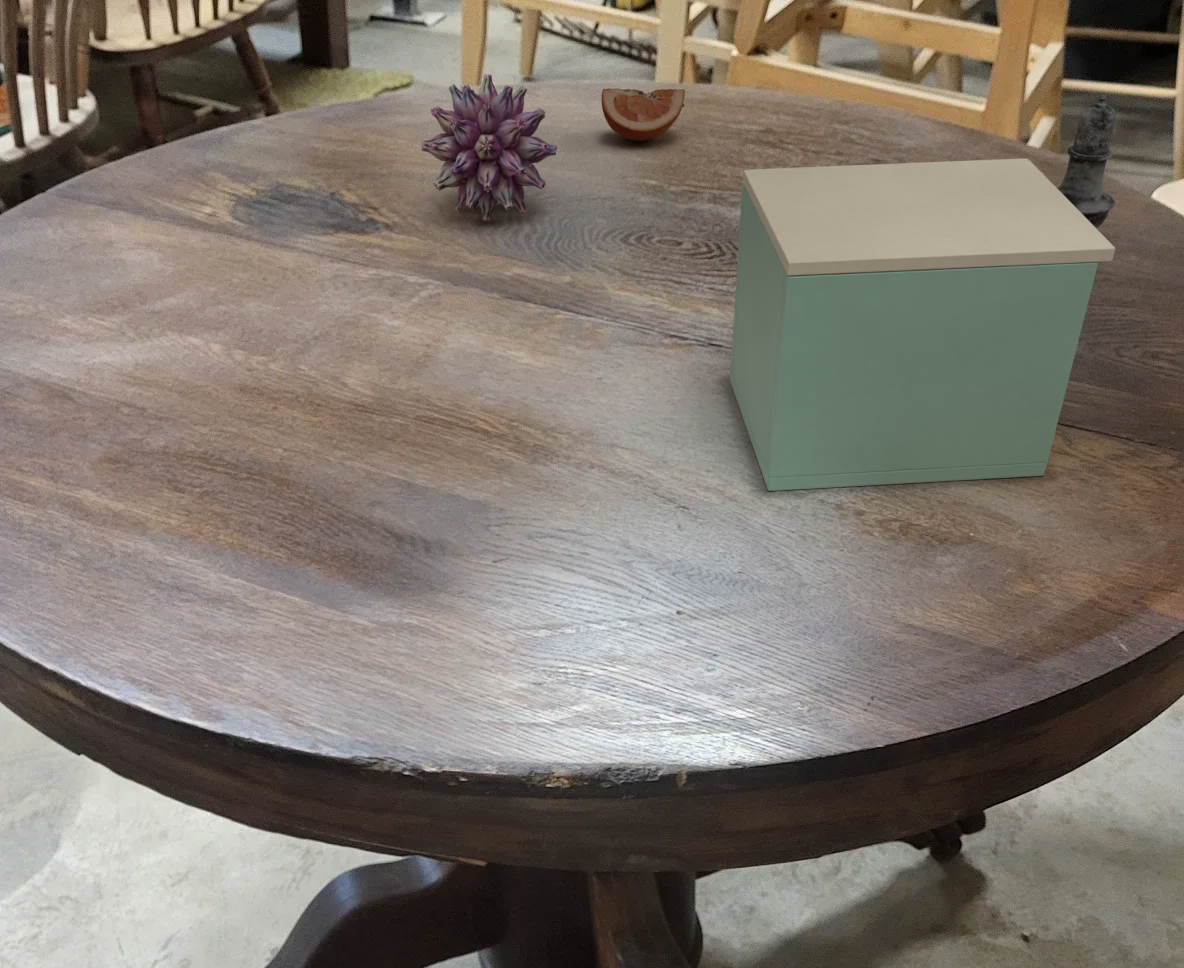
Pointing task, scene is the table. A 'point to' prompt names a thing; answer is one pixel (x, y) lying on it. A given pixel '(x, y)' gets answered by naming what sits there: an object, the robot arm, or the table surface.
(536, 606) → the table surface
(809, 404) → the green open box
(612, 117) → the fruit slice
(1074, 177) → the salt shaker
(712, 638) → the table surface
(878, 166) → the cool box lid
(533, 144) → the flower
